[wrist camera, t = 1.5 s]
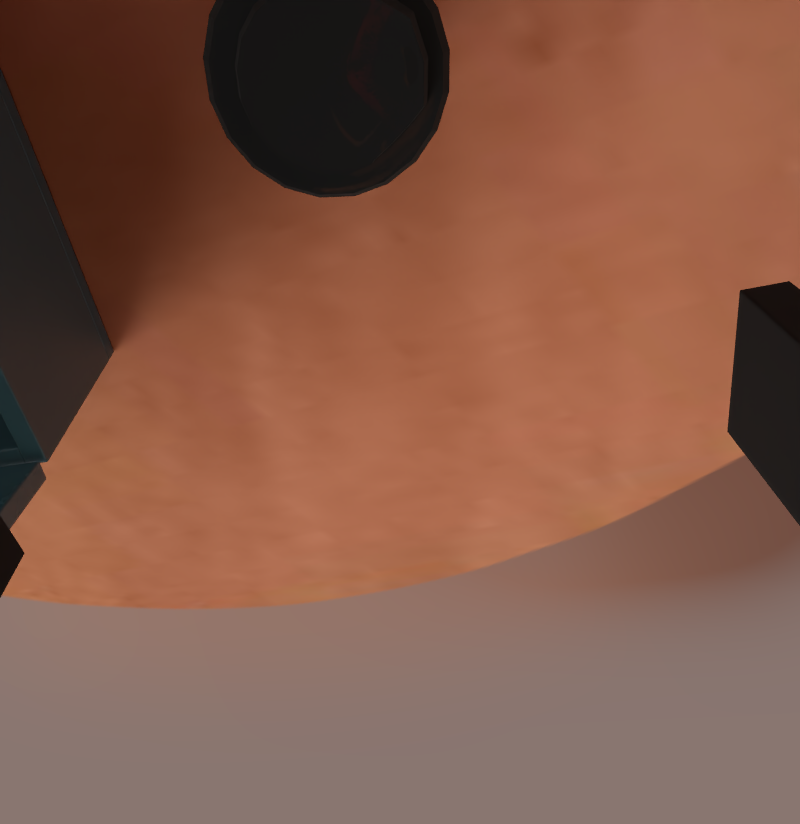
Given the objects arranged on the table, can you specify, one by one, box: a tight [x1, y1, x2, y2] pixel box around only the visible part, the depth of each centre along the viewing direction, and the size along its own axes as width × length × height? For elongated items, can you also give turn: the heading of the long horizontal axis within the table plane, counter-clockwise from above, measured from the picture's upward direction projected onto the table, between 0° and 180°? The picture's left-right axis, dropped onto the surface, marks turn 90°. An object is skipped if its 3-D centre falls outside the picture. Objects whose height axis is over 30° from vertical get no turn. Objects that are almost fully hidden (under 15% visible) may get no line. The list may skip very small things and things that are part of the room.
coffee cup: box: [203, 0, 450, 197], centre depth 23 cm, size 7×7×10 cm
